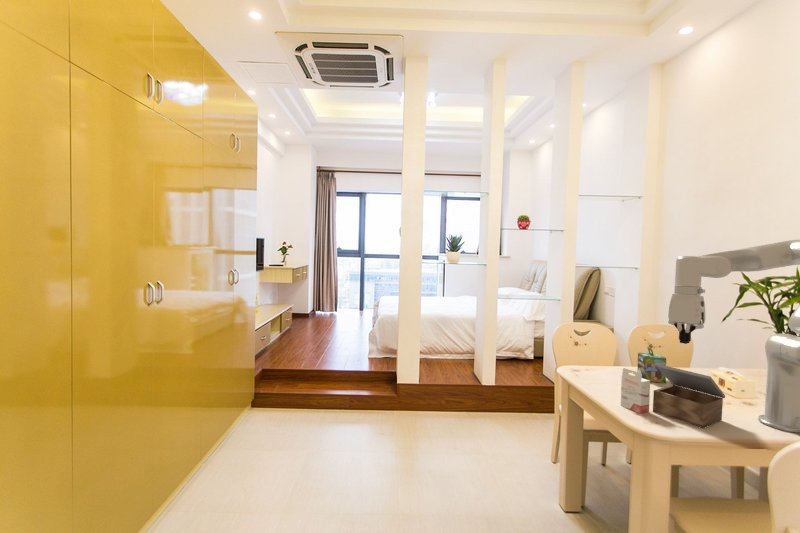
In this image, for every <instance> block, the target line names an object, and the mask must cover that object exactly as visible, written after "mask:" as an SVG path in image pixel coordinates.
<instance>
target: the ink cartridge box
mask: <svg viewBox="0 0 800 533" xmlns="http://www.w3.org/2000/svg"><path fill="white" fill-rule="evenodd" d="M621 373H622V375H621V387H620V388H621V389H620V406H621V407H624V408H626V409H628V410H631V411H633V412H636V413H637V414H643V413H649V412H650V397H651V395H650V393H651V382H650V381H649V380H646V379H643V378H642V373H639V372H637V371H635V370H632V369H628V368H625V367H623V368H622V372H621Z"/></svg>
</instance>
